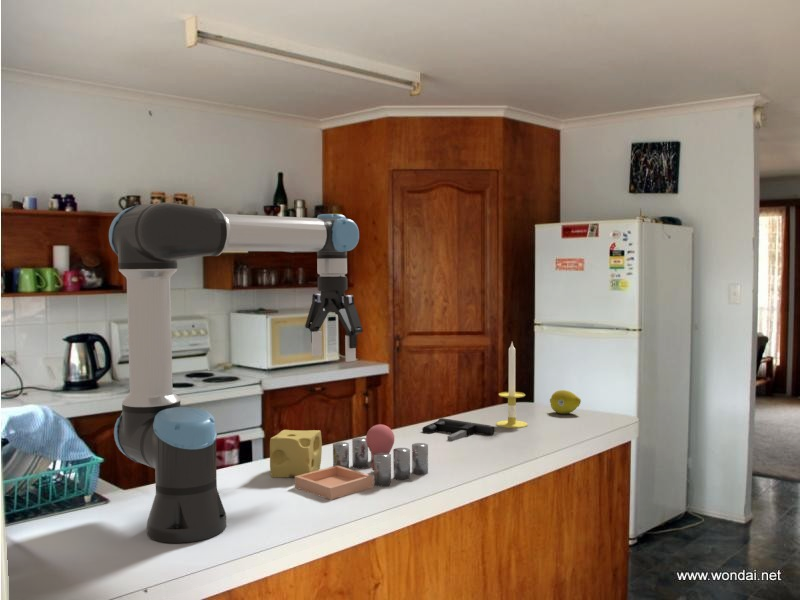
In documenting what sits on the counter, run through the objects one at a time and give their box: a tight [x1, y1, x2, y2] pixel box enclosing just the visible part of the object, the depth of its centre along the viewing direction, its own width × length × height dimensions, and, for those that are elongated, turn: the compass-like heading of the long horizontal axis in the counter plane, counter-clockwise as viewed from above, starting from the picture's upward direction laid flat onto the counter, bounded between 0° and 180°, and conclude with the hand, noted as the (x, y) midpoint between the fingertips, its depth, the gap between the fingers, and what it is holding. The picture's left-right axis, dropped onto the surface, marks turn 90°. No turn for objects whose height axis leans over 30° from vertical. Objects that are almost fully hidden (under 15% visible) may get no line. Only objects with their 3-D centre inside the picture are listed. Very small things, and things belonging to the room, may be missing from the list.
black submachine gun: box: [421, 417, 496, 442], centre depth 228 cm, size 3×20×16 cm
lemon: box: [549, 389, 582, 415], centre depth 256 cm, size 11×8×8 cm
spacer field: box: [332, 437, 429, 488], centre depth 187 cm, size 17×19×7 cm
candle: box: [495, 342, 528, 429], centre depth 239 cm, size 10×10×27 cm
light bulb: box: [365, 423, 395, 472], centre depth 187 cm, size 7×7×12 cm
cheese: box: [269, 429, 323, 479], centre depth 187 cm, size 10×11×10 cm
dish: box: [294, 465, 374, 501], centre depth 175 cm, size 13×13×3 cm
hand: (333, 358), depth 191 cm, fingers open, 13 cm apart
